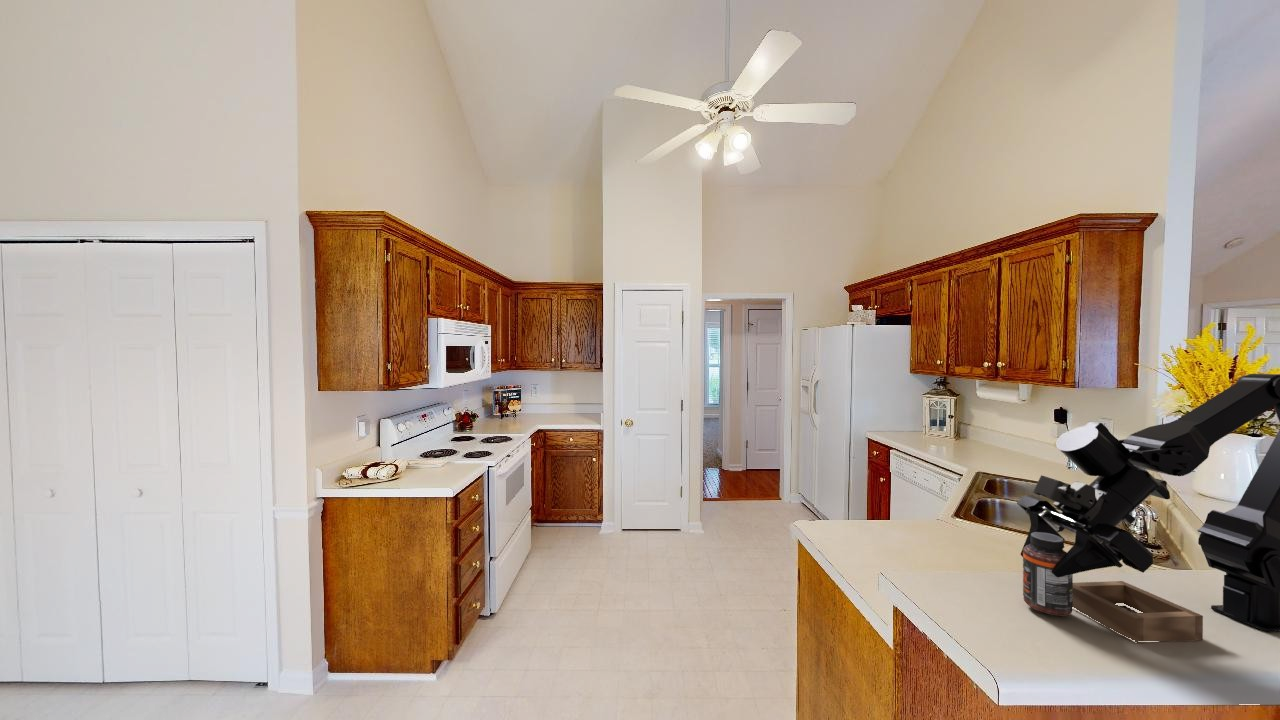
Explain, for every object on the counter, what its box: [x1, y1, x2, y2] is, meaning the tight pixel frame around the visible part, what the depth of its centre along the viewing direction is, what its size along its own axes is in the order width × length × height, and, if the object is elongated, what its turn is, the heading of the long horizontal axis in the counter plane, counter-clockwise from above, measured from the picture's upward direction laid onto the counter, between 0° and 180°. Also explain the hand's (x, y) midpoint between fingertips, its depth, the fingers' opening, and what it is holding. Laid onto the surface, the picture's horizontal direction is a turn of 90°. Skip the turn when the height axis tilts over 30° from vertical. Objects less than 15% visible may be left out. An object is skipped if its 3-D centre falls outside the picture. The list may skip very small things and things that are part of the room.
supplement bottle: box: [1022, 532, 1074, 617], centre depth 74 cm, size 6×6×11 cm
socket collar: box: [1073, 580, 1204, 642], centre depth 72 cm, size 10×10×4 cm
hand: (1037, 565), depth 74 cm, fingers closed on supplement bottle, 6 cm apart
